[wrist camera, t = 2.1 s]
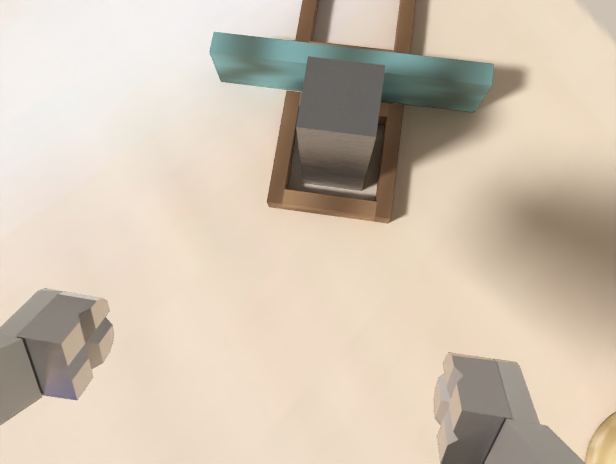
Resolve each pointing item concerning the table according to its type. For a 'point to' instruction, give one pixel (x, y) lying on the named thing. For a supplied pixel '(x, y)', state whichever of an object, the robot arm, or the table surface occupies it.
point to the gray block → (338, 121)
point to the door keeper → (396, 88)
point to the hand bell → (603, 443)
